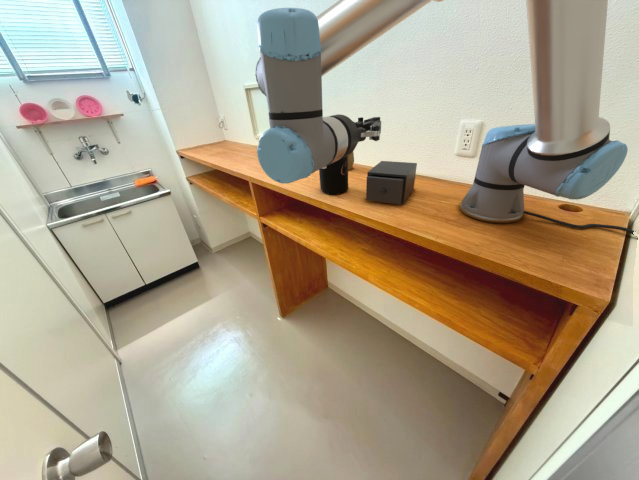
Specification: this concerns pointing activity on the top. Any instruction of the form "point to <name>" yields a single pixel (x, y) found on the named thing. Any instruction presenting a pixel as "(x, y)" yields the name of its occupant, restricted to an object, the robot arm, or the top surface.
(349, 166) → the squeeze bottle
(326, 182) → the coffee jar
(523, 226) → the top surface
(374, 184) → the drawer
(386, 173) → the cabinet
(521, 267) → the top surface
